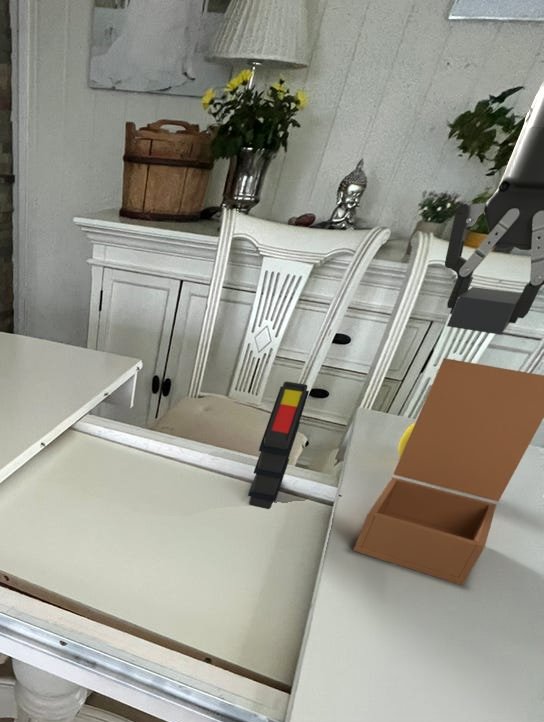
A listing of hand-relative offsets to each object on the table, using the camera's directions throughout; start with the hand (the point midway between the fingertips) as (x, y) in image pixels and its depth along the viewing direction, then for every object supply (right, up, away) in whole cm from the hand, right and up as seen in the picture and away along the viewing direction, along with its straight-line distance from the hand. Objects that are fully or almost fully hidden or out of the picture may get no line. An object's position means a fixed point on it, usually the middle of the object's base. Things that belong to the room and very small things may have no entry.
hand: (482, 317), depth 68 cm
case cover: (+2, -12, +4) cm, 13 cm away
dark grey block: (0, -1, +1) cm, 1 cm away
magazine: (-20, -17, +17) cm, 31 cm away
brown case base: (-3, -25, +8) cm, 27 cm away
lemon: (+8, -6, +25) cm, 27 cm away
